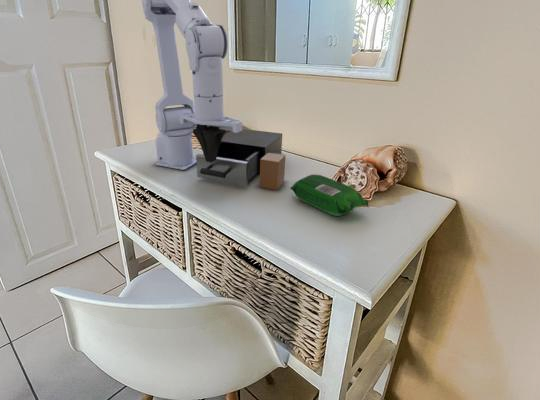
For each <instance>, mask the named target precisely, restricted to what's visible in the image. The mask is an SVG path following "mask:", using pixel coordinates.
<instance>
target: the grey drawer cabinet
mask: <svg viewBox="0 0 540 400" xmlns="http://www.w3.org/2000/svg"><path fill="white" fill-rule="evenodd" d="M220 144H227V145H234V146H242V147H249V148H256V149H263V155H262V157H264V156H265V155H266V154H267V153H274V154H280V155H282V149H283V147H282V146H283V133H280V132H272V131H264V130H255V129H247V128H242V131H240V132H238V133H234V132H233V131H228V132H225V134H224V136H223V138H222V140H221V143H220ZM255 175H260V171H258V172H257V173H256V174H255Z"/></svg>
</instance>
